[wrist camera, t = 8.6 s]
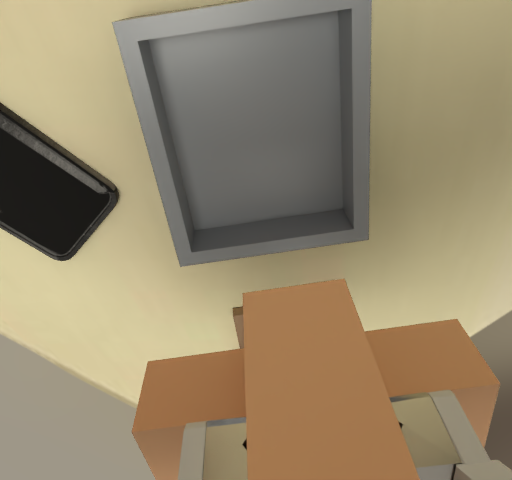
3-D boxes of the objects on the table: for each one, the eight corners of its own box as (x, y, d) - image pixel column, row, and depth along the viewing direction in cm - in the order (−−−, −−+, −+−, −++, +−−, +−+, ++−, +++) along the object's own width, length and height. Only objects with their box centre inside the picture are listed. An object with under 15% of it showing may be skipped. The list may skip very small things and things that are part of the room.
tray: (351, -17, 24) (371, -18, 20) (353, 213, 31) (368, 239, 28) (127, 18, 24) (112, 22, 21) (185, 238, 32) (180, 266, 28)
